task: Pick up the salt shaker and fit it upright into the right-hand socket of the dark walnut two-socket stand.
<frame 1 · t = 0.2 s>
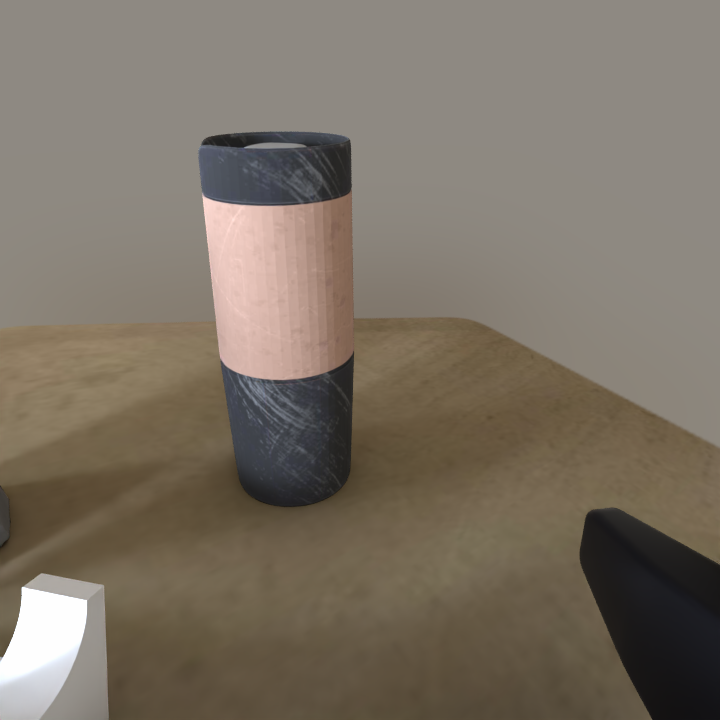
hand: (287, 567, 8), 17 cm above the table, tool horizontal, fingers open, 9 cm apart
travel mug: (295, 472, 38), on the table
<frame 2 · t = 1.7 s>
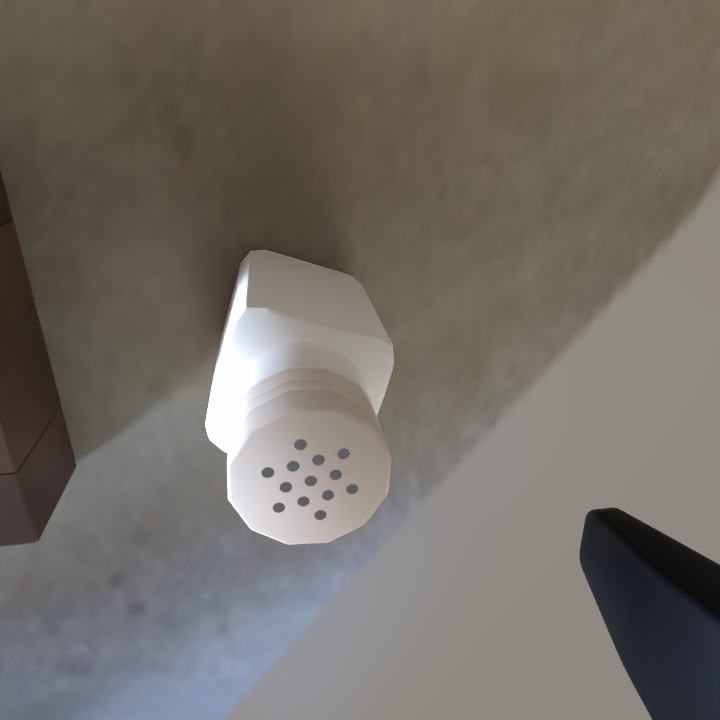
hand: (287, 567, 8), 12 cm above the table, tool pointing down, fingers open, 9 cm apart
salt shaker: (289, 311, 20), on the table
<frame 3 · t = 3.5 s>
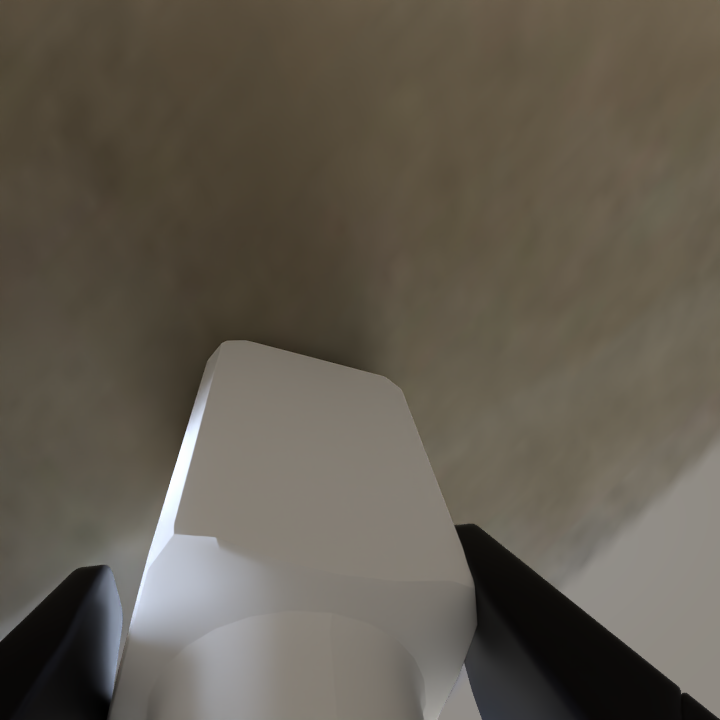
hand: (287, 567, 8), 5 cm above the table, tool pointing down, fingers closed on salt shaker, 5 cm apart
salt shaker: (289, 424, 13), on the table, touching gripper
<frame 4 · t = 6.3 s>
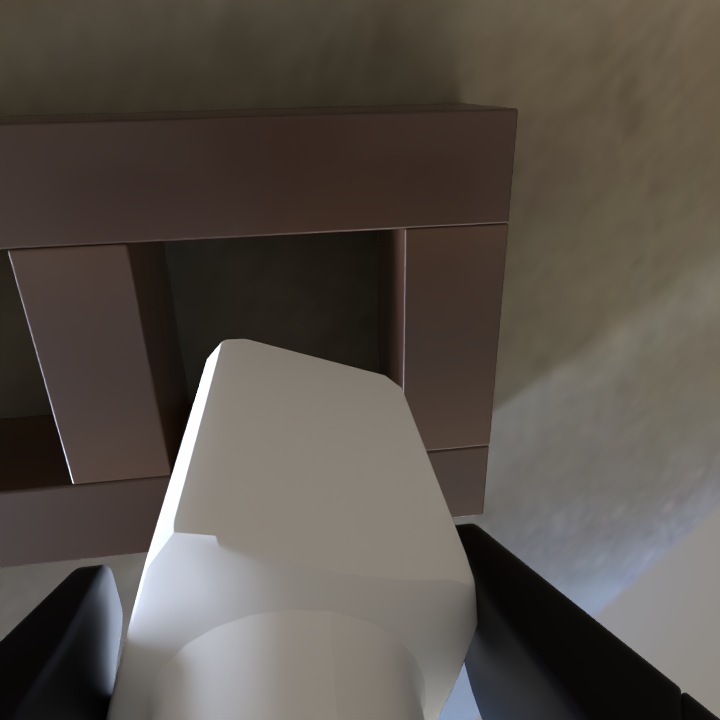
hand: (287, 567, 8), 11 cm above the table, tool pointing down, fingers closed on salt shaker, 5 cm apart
salt shaker: (289, 423, 13), point 6 cm above the table, touching gripper
stand: (132, 315, 18), on the table
when the fingers open (5 cm above the table, at t = 9.1 s): salt shaker stays where it is, resting in stand.
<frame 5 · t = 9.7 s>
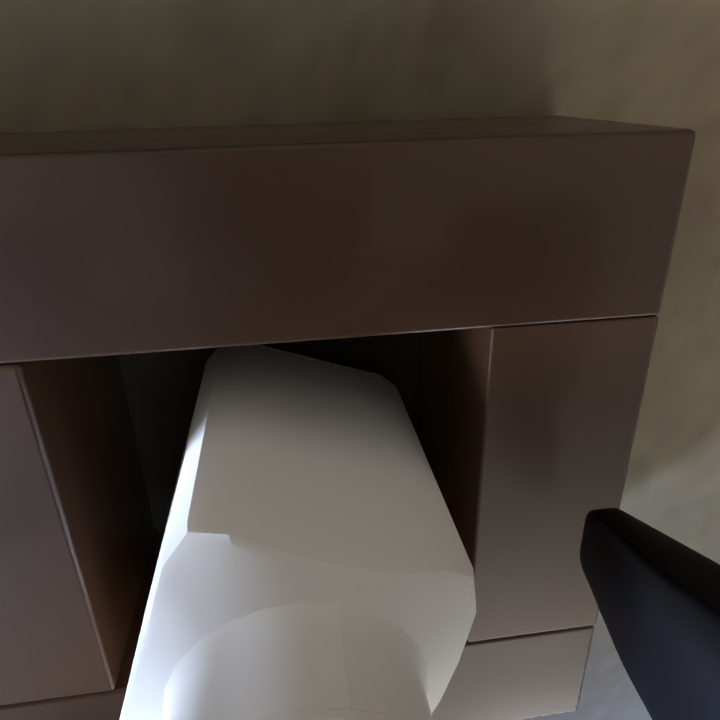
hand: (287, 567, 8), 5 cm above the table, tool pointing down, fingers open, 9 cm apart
salt shaker: (286, 422, 13), resting in stand
stand: (68, 422, 12), on the table
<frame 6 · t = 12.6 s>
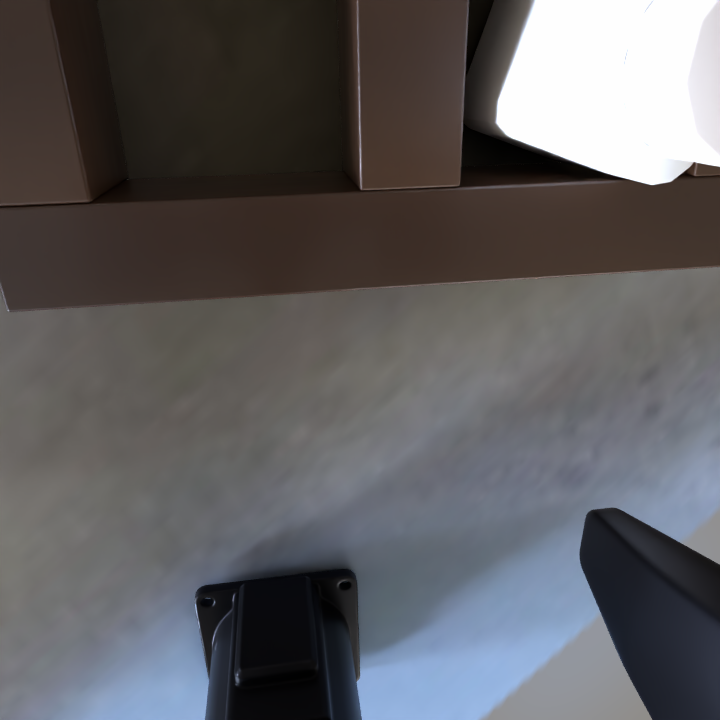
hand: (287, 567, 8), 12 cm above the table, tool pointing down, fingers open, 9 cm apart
salt shaker: (528, 73, 18), resting in stand
stand: (382, 54, 17), on the table
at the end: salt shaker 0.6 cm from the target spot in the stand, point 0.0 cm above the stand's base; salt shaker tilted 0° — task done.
